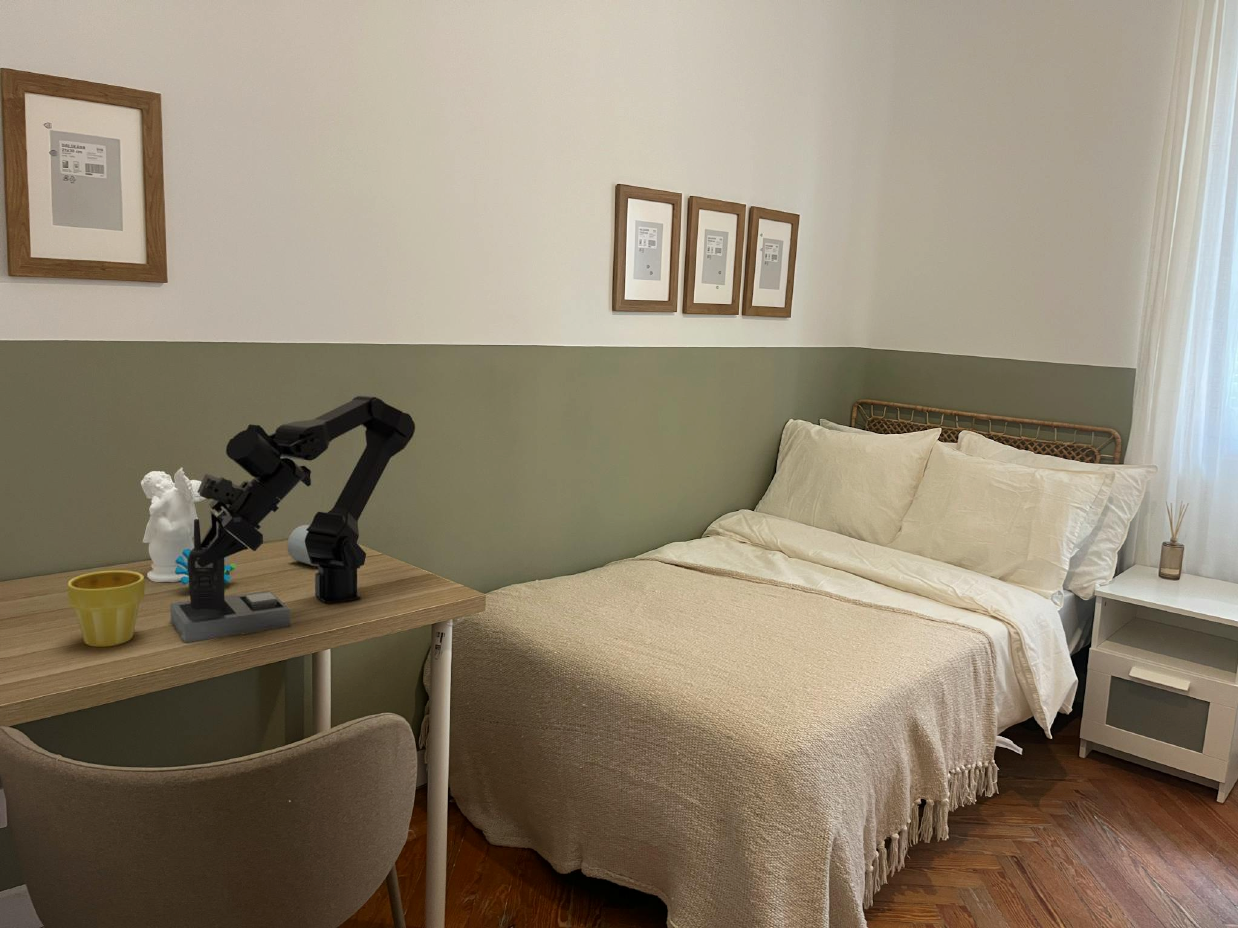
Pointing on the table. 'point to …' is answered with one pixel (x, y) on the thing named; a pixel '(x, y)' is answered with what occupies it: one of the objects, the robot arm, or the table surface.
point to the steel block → (261, 601)
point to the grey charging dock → (226, 618)
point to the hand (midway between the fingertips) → (197, 561)
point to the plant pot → (106, 605)
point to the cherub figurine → (169, 521)
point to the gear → (180, 570)
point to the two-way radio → (205, 577)
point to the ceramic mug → (299, 545)
